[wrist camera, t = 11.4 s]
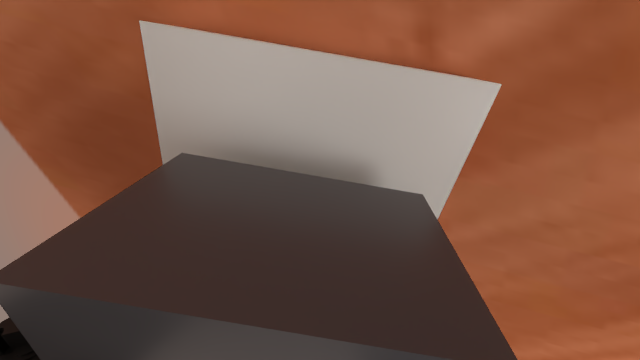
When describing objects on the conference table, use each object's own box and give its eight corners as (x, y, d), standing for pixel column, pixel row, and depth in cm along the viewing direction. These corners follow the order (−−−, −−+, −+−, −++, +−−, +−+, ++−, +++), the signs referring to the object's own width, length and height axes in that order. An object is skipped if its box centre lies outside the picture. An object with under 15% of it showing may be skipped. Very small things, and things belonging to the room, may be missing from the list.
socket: (177, 26, 11) (122, 18, 9) (470, 77, 12) (515, 86, 9) (204, 284, 20) (180, 324, 17) (373, 312, 20) (379, 356, 17)
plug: (206, 136, 11) (-17, 281, 4) (410, 171, 11) (524, 372, 4) (216, 277, 16) (115, 462, 9) (361, 302, 16) (379, 505, 9)
